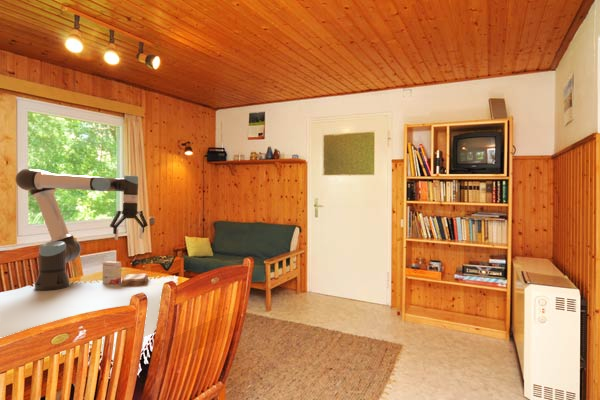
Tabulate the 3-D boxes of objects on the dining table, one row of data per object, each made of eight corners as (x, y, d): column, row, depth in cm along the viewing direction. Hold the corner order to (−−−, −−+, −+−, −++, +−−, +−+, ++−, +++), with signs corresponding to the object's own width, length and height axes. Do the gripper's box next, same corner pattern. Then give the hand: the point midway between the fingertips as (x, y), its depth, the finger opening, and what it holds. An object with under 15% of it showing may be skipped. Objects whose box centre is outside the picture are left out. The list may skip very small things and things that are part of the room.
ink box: (121, 282, 204) (122, 261, 204) (115, 284, 199) (115, 263, 199) (108, 281, 206) (108, 260, 206) (102, 283, 201) (102, 262, 201)
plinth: (121, 286, 196) (121, 279, 196) (125, 280, 209) (125, 274, 209) (145, 285, 200) (145, 278, 199) (147, 279, 213) (147, 273, 213)
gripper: (109, 202, 197) (107, 241, 197) (154, 202, 215) (152, 238, 215) (104, 201, 202) (103, 239, 202) (149, 202, 220) (147, 237, 220)
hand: (128, 239), depth 209 cm, fingers open, 13 cm apart
